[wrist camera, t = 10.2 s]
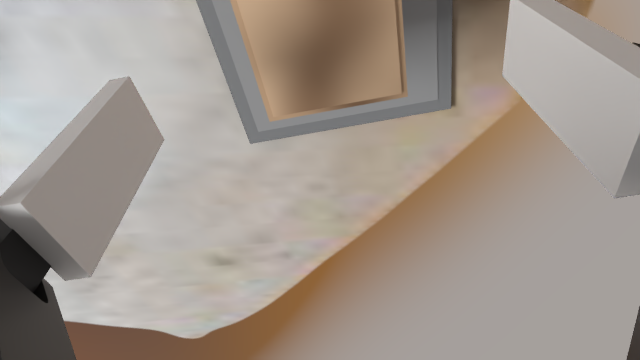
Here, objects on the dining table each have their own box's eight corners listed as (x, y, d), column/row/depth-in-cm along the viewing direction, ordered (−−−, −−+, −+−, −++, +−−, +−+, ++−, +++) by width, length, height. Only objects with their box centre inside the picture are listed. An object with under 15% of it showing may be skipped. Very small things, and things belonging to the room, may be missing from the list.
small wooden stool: (282, 56, 27) (269, 123, 19) (251, -60, 22) (219, -29, 15) (383, 35, 26) (408, 98, 19) (371, -89, 21) (397, -70, 14)
